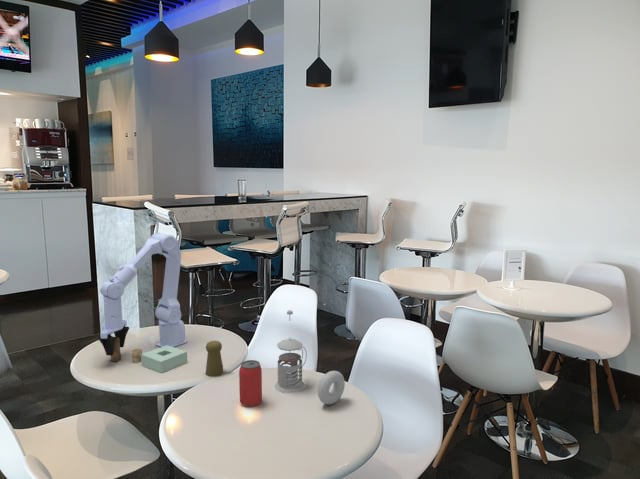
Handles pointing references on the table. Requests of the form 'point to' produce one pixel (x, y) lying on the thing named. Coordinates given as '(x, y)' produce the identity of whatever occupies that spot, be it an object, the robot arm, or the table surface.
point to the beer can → (250, 383)
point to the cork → (214, 359)
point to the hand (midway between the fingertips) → (115, 350)
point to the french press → (285, 380)
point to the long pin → (116, 351)
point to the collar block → (164, 358)
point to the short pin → (136, 355)
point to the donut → (326, 384)
